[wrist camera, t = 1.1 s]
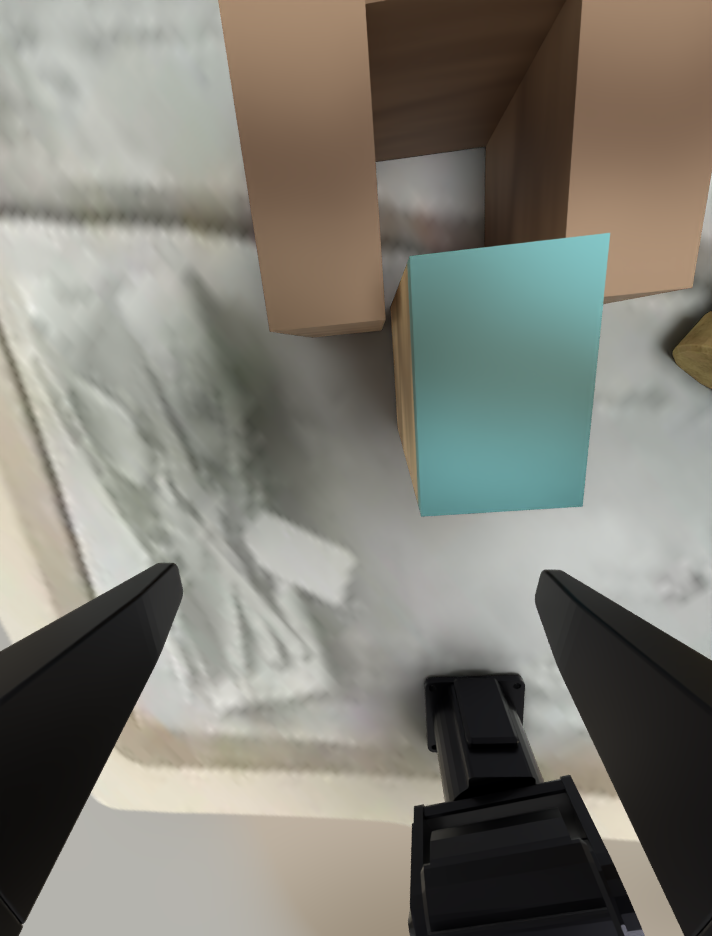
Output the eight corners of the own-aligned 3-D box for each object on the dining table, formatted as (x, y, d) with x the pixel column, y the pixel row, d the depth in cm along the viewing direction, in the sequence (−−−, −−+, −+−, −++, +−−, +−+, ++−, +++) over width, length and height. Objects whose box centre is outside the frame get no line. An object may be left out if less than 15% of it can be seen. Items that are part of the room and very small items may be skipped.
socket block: (557, 312, 18) (692, 287, 10) (312, 337, 19) (269, 331, 11) (571, 105, 15) (761, -128, 8) (289, 146, 16) (214, -28, 9)
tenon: (473, 422, 20) (582, 506, 9) (397, 427, 20) (421, 516, 10) (474, 298, 18) (610, 232, 7) (390, 307, 18) (410, 256, 8)
